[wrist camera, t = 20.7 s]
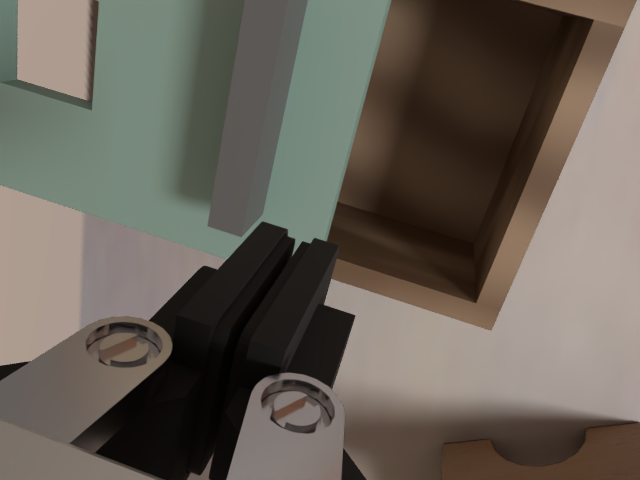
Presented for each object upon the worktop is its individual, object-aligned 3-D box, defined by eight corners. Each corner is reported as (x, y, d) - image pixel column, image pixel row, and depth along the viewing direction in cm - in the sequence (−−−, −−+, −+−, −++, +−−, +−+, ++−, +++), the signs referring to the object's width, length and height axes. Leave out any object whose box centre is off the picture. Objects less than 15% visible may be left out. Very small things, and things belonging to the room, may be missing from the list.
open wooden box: (484, 258, 37) (491, 330, 29) (198, 169, 39) (129, 213, 31) (591, -3, 30) (638, -5, 22) (238, -94, 32) (164, -125, 24)
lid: (317, 276, 30) (295, 317, 26) (-24, 165, 32) (-90, 187, 28) (408, -64, 23) (397, -77, 19) (-32, -175, 25) (-120, -207, 21)
